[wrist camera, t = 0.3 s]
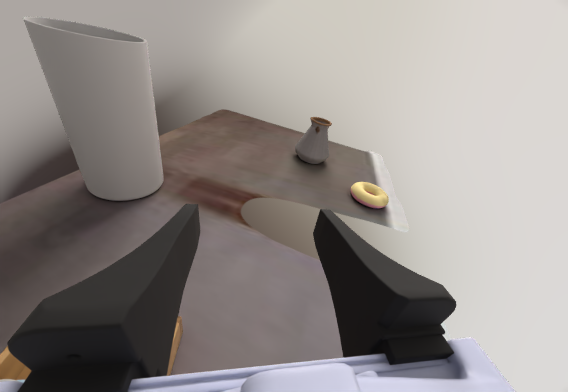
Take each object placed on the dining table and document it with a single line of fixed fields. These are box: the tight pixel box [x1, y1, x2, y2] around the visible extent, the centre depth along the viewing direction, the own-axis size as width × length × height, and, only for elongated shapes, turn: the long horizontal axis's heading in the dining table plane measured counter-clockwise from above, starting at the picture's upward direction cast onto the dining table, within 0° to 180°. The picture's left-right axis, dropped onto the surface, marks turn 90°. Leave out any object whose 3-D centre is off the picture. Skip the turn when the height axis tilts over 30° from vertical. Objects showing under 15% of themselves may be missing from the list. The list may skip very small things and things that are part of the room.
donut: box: [351, 182, 389, 208], centre depth 58 cm, size 10×5×9 cm
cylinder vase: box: [23, 17, 163, 201], centre depth 36 cm, size 12×12×25 cm
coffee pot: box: [295, 117, 332, 164], centre depth 64 cm, size 21×12×15 cm, turn 165°
